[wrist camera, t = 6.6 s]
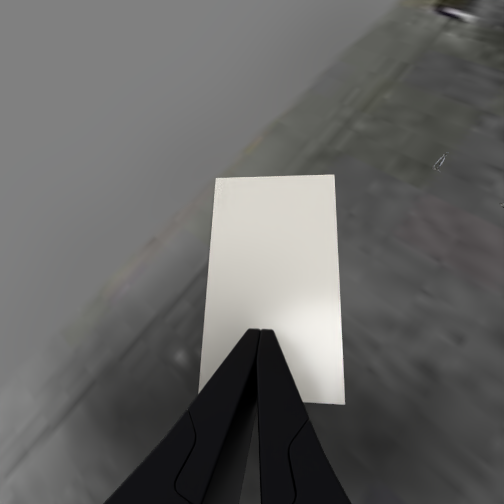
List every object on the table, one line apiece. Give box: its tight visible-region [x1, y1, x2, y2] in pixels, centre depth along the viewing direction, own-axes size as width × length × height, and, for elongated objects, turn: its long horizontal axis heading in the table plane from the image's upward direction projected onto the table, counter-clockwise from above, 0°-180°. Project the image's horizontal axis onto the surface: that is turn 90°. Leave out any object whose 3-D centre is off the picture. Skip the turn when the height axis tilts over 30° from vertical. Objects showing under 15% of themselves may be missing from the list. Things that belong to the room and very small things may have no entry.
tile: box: [198, 175, 345, 405], centre depth 16 cm, size 2×7×12 cm
